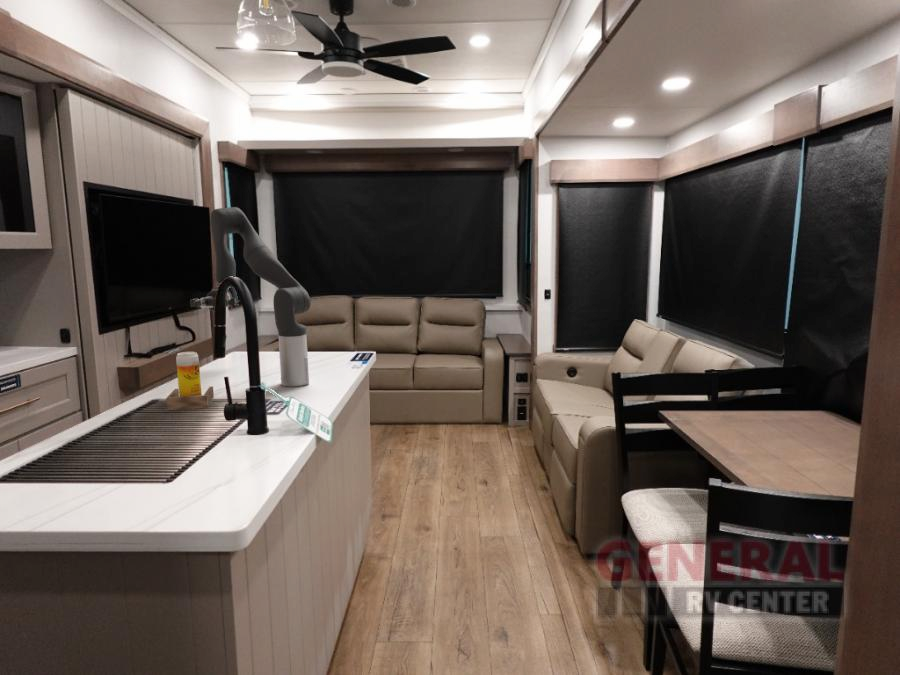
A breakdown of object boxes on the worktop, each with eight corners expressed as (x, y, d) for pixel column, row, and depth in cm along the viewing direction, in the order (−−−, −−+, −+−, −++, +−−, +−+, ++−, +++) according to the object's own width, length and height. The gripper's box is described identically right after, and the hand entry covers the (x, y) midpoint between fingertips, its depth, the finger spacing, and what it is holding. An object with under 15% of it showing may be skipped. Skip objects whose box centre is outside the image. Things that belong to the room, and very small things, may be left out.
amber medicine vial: (196, 404, 164) (192, 355, 161) (176, 404, 164) (171, 355, 161) (205, 398, 170) (201, 351, 167) (186, 398, 170) (182, 351, 167)
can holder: (213, 397, 173) (212, 386, 173) (207, 407, 163) (206, 395, 162) (175, 400, 171) (174, 388, 170) (167, 410, 160) (165, 398, 159)
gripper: (196, 289, 196) (186, 293, 181) (238, 288, 200) (232, 292, 184) (198, 310, 197) (188, 316, 182) (239, 309, 201) (233, 314, 185)
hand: (210, 304), depth 183 cm, fingers open, 8 cm apart
